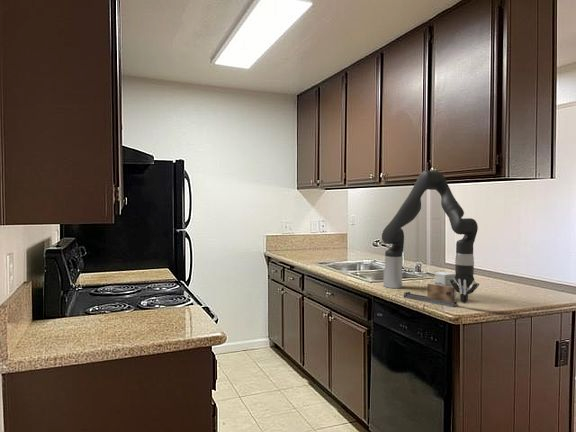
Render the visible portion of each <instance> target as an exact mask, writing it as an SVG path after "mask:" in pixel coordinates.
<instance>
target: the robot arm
mask: <svg viewBox="0 0 576 432" xmlns="http://www.w3.org/2000/svg"><path fill="white" fill-rule="evenodd" d="M427 190H429V191H430V190H431V191H433V190H434V191H437V192H438V194H439V195H440V196H441V197H440V198H441V199H440V205H441V207H442V210H443V211H444V213H445V214H446V216H447V217H448V220H449V223H450V226H451V230H452V231H453V233H455V234H456V235H463V238H461V239H458V240H457V241H456V243H455V261H454V263H455V264H454V265H455V268H454V271H455V273H454V274H456V275H455V278H454V279H453V280H450V283H451V284H452V286H453V287H454V289H455V290H456V293H459V295H460V296H459V301H460V302H461V303H462V304H466V303H468V302H469V295H470V294H473V293H474V292H475V291H476V289H478V287H479V286H480V283H479V282H476V281H475V277H474V274H475V269H474V267H475V257H474V243H475V241H476V237H477V234H478V230H479V227H478V226H479V225H478V223H477V221H476V220H475V219H474V218H472V217H471V218H466V217H465V218H463V217H464V215H465V211H464V208H462V206H461V205H460V203H459V202H458V200H457V199H456V198H455V197H454V195H453V192H452V190H451V188H450V186H449V184H448V182H447V180H446V178H445V176H444V174H443V173H442V172H441V171H437V170H423V171H422V172H421V173H420V174H419V176H418V177H417V179H416V182H415V183H414V185H413V186H412V189H411V191H410V192H409V194H408V196H407V197H406V198H405V200H404V202H403V203H402V204H401V206H400V208H399V209H398V211H397V213H396V214H395V215H394V216H393V218H392V219H391V221H390V222H389V223H388V224H387V225H386V226H385V228H384V229H383V231H382V233H381V241H382V242H383V243H384V244H385V245H386V244H387V245H391V247H390V248H388V249H386V250H385V252H384V253H385V254H384V256H385V257H384V269H383V287H386V288H387V289H388V288H389V289H390V288H391V289H401V288H402V287H403V253H404V247H405V246H404V245H405V232H404V230H403V229H402V228H403V227H405V226H406V225H408V224H410V223H411V222H413V221H414V220H415V219H416V217H417V216H418V215H419V213H420V211H422V210H421V209H422V196H423V195H424V193H425V192H426V191H427Z"/></svg>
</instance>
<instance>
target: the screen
mask: <svg viewBox="0 0 576 432" xmlns="http://www.w3.org/2000/svg"><path fill="white" fill-rule="evenodd" d="M426 287H427V291H426V294H427V298H432V299H437V300H442V301H448V302H453V303H454V301H455V300H454V291H455V289H454V287H448V286H441V285H435V283H434V284H433V283H427V286H426Z"/></svg>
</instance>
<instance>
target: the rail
mask: <svg viewBox="0 0 576 432" xmlns="http://www.w3.org/2000/svg"><path fill="white" fill-rule="evenodd" d="M403 298H405V299H410V300H416V301H420V302H425V303H431V304H436V305H442V306H445V307H450V308H454V307H458V305H459V304H458V302H457V301H456V300H454V303H453V302H448V301H442V300H437V299H432V298H427V296H426V295H421V294H417V293H415V294H414V293H412V292H411V291H405V292H403Z"/></svg>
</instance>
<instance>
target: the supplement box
mask: <svg viewBox="0 0 576 432" xmlns="http://www.w3.org/2000/svg"><path fill="white" fill-rule="evenodd" d="M455 275H456V273H452V272H447V271H438V272H434V284H435V285H441V286H448V287H453V286H452V284H451V283H450V280H453V279H454V278H455ZM456 300H457V292H456V290H455V291H454V301H456Z"/></svg>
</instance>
